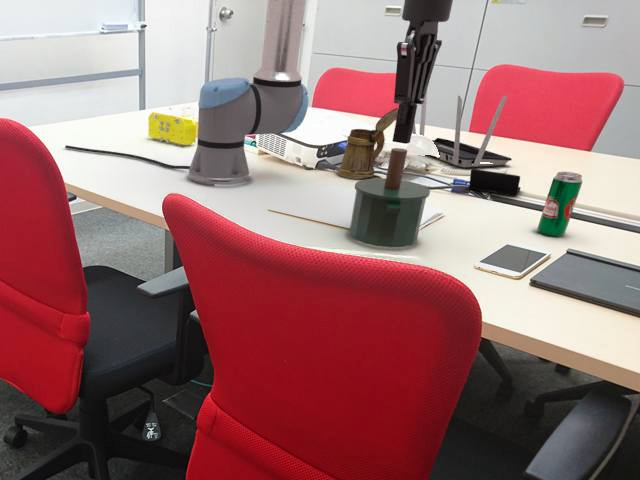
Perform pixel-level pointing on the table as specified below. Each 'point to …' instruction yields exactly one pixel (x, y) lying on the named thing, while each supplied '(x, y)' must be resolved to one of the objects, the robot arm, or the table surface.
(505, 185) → the black box
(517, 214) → the table surface
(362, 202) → the tin
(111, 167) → the table surface
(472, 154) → the wireless router
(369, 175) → the wooden mug
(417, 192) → the lid
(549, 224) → the soda can
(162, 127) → the yellow toy chassis
